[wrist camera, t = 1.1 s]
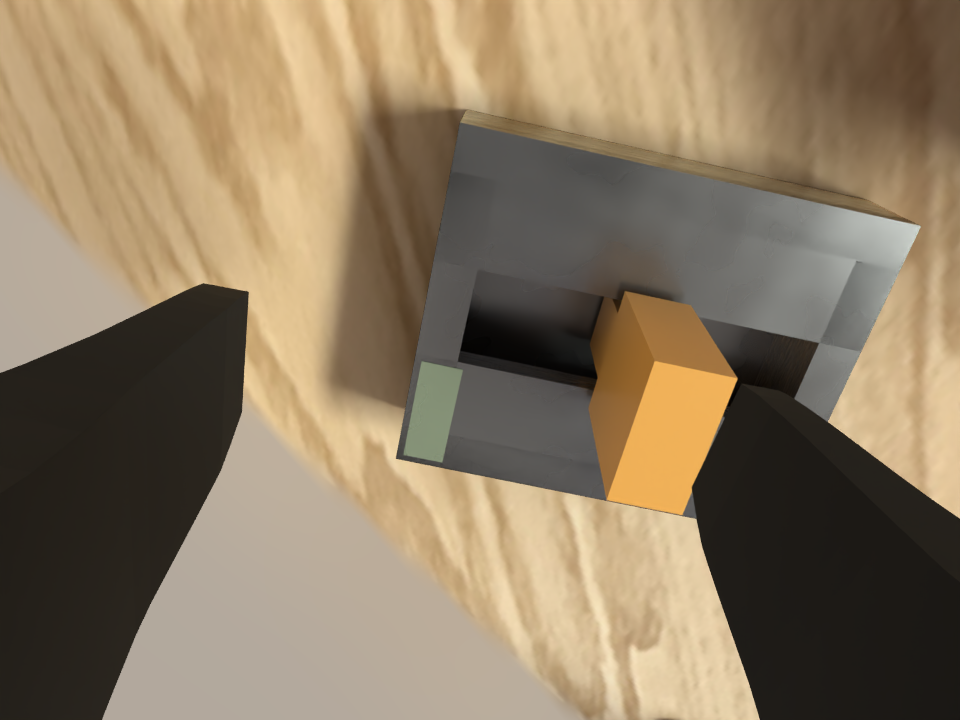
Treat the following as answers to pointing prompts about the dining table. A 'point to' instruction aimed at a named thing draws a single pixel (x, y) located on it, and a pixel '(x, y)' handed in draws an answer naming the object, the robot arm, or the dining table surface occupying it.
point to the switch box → (609, 273)
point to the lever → (655, 399)
